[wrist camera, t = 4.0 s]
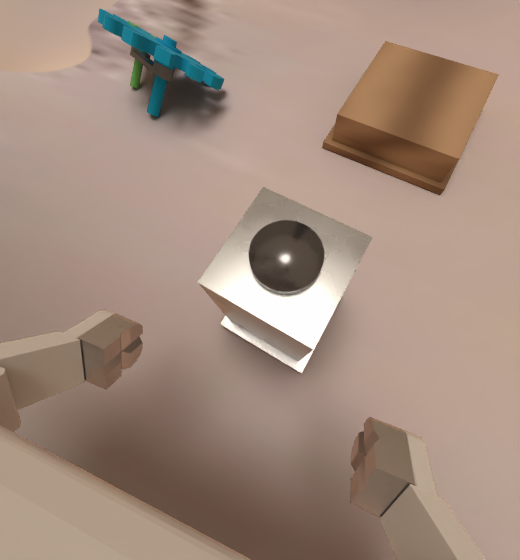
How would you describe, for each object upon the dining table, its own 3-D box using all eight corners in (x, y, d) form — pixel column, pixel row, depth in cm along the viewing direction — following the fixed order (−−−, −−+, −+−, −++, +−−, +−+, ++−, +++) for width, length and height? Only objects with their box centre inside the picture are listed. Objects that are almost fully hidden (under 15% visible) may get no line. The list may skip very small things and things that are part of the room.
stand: (322, 147, 24) (328, 116, 21) (371, 72, 26) (382, 35, 23) (440, 194, 22) (464, 167, 19) (480, 108, 24) (507, 72, 21)
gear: (249, 85, 24) (135, 22, 17) (223, 151, 28) (118, 121, 20) (186, 45, 29) (75, -19, 22) (170, 105, 32) (68, 67, 25)
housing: (223, 326, 19) (174, 281, 10) (266, 256, 21) (258, 164, 12) (300, 373, 18) (322, 369, 9) (341, 295, 20) (395, 224, 10)
